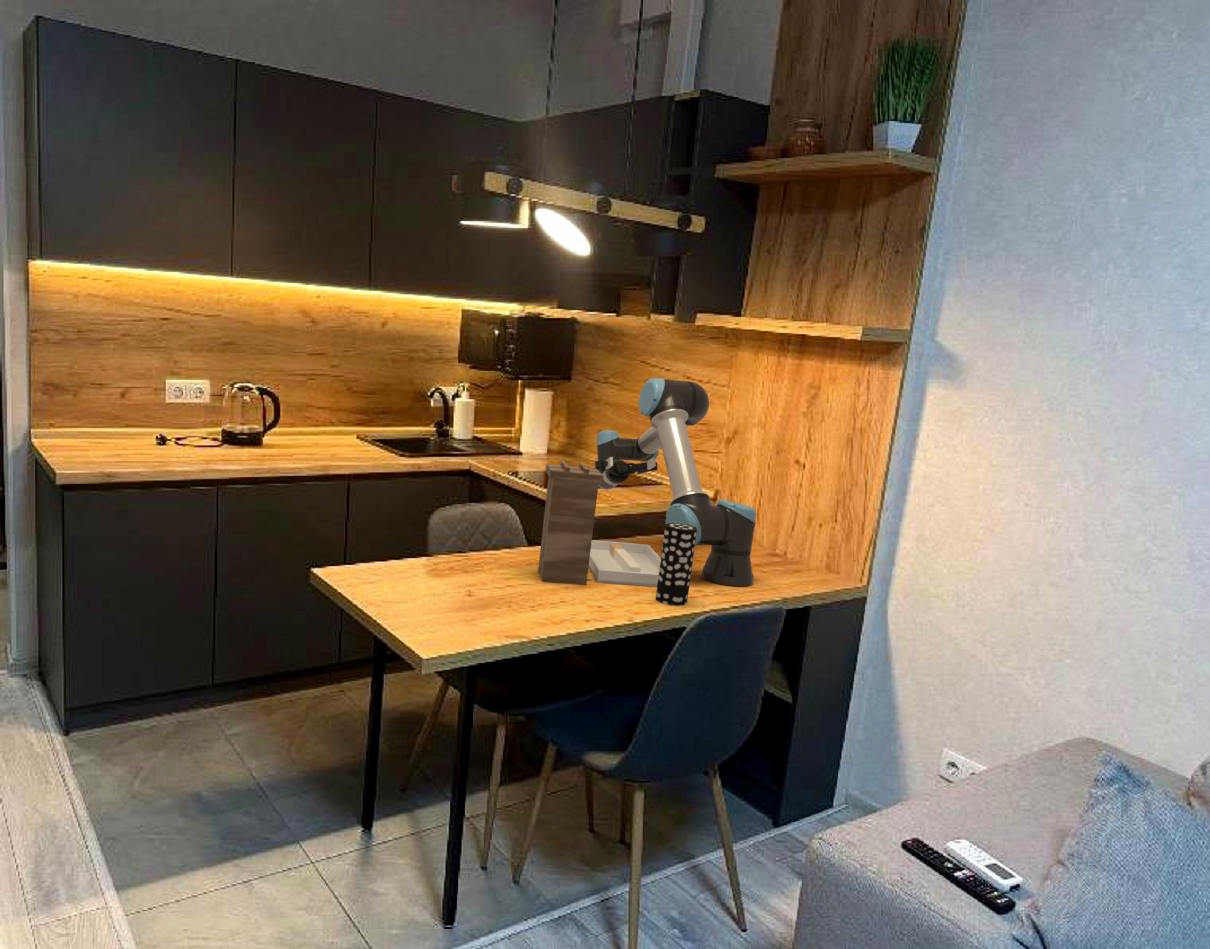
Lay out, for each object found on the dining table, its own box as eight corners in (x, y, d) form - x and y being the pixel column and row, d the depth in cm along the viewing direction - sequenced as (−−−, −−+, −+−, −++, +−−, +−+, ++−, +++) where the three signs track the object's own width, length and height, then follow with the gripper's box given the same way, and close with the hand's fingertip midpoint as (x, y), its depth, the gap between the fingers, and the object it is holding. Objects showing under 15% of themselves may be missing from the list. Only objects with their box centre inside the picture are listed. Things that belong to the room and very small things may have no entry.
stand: (590, 585, 248) (604, 471, 243) (538, 581, 245) (551, 466, 241) (583, 573, 260) (596, 464, 256) (534, 569, 258) (546, 459, 254)
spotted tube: (663, 594, 248) (672, 521, 245) (691, 601, 244) (701, 527, 242) (650, 600, 241) (660, 525, 238) (679, 607, 237) (690, 531, 234)
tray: (675, 588, 256) (676, 576, 255) (597, 582, 252) (598, 570, 251) (647, 555, 293) (648, 544, 292) (579, 549, 289) (580, 538, 288)
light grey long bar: (639, 578, 259) (640, 567, 259) (629, 577, 259) (630, 566, 258) (618, 553, 286) (620, 544, 286) (609, 553, 286) (610, 543, 285)
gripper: (652, 484, 306) (672, 474, 286) (579, 483, 300) (593, 473, 280) (652, 461, 307) (671, 450, 287) (578, 460, 301) (593, 448, 281)
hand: (633, 461), depth 283 cm, fingers open, 13 cm apart
